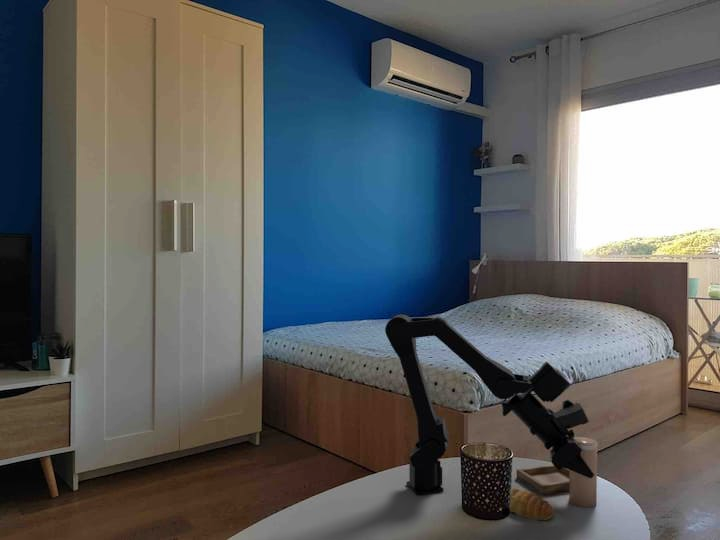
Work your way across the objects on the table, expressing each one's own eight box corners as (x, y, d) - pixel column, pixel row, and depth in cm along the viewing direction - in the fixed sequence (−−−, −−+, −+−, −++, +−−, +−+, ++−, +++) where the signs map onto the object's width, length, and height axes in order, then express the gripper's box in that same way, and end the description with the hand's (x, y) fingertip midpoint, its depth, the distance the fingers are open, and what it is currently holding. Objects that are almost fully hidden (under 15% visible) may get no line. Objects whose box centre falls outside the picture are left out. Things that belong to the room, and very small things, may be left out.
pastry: (559, 514, 114) (559, 496, 114) (544, 526, 109) (544, 507, 109) (517, 500, 120) (517, 483, 120) (501, 511, 115) (501, 493, 115)
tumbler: (580, 509, 116) (581, 446, 115) (563, 498, 121) (563, 438, 121) (602, 505, 117) (603, 443, 117) (584, 494, 123) (585, 435, 122)
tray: (542, 494, 123) (542, 485, 123) (516, 477, 132) (516, 469, 132) (588, 488, 126) (588, 479, 126) (559, 471, 136) (560, 463, 136)
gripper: (570, 402, 110) (630, 462, 108) (558, 381, 129) (609, 433, 126) (528, 439, 112) (586, 499, 110) (522, 413, 131) (572, 464, 128)
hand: (589, 471), depth 119 cm, fingers closed on tumbler, 5 cm apart
